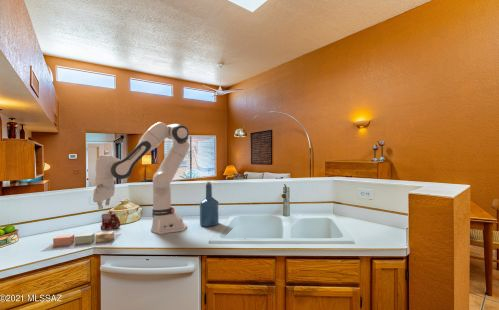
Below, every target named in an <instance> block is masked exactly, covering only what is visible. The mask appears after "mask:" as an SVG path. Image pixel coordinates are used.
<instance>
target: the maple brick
mask: <svg viewBox="0 0 499 310" xmlns="http://www.w3.org/2000/svg"><path fill="white" fill-rule="evenodd" d="M114 234H115V231H113V230H112V231H111V230H110V231H100V232H97V233H96V234H95V236H96V242H101V241H112V240H113V239H114Z"/></svg>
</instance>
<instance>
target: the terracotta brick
mask: <svg viewBox="0 0 499 310" xmlns="http://www.w3.org/2000/svg"><path fill="white" fill-rule="evenodd" d="M74 238H75V234H66V235H65V234H64V235H56V236H55V237H53V239H52V240H53V241H52V242H53V243H52V244H53V246H59V245H70V244H72V243H73V242H74Z"/></svg>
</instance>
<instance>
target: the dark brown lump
mask: <svg viewBox="0 0 499 310" xmlns="http://www.w3.org/2000/svg"><path fill="white" fill-rule="evenodd" d="M120 227H121V221H120V219H119V217H118V216H117V214H116V213H114V214H112V213H103V214H101V225H100V230H101V231H106V230H115V229H116V230H117V229H119V228H120Z"/></svg>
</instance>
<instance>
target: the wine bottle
mask: <svg viewBox="0 0 499 310" xmlns="http://www.w3.org/2000/svg"><path fill="white" fill-rule="evenodd" d="M212 191H213V187H212V183H211V181H207V182H206V184H205V198H204V199H203V200H201V201H200V202H199V226H201V227H204V228H211V227H216V226H217V225H219V221H220V220H219V216H220V215H219V201H218V200H217V199H216V198H214V197H213V192H212Z"/></svg>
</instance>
